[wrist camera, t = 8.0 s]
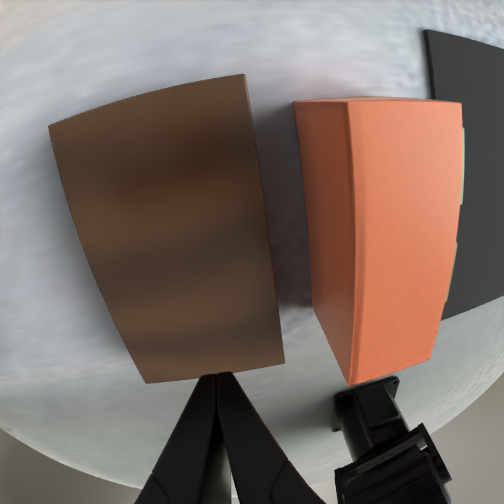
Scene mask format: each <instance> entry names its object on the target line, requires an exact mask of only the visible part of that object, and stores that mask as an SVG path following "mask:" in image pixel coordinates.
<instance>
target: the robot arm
mask: <svg viewBox="0 0 504 504" xmlns="http://www.w3.org/2000/svg"><path fill="white" fill-rule="evenodd" d="M398 385H399V379H398V377H397V376H395V377H392V378H389V379H386V380H383V381H380V382H377V383H374V384H370V385H367V386H364V387H361V388H357V389H354V390H350V391H347V392H343V393H340V394H337V395H335V396H334V398H333V411H332V423H331V429H332V432H337V431H341V430H342V432H343V435H344V438H345V441H346V443H347V446H348V449H349V452H350V454H351V457H352V460H353V463H350V464H348V465H346V466H344V467H342V468H338V469H335V470H334V472H335V485H336V492H337V499H338V504H451V497H450V494H449V492H448V490H447V488H446V486H445V484H446V483H448V482H449V481H451V480H452V478H451V476H450V474H449V472H448V470H447V468H446V466H445V464H444V462H443V460H442V458H441V456H440V455H439V453H438V451H437V449H436V447H435V445H434V443H433V441H432V440H431V437H430V436H429V434H428V432H427V430H426V428H425V426H424V424H423V423H421V424H419V425H418V427H416V428H415V429H413V430H411V431H410V429H409V427H408V425H407V424H406V422H405V420H404V418H403V416H402V414H401V412H400V410H399V408H398V406H397V404H396V402H395V401H394V398H395V395H396V392H397V388H398ZM425 445H427V446H428V447H426V448H425V449H423V450H422V451H421V450H420V448H422V447H423V446H425ZM231 472H232V476H233V480H234V484H235V488H236V491H237V495H238V499H239V502H240V504H326V503H325V502H324V501H323V500H322V499H321V498H320V497H319V496H318V495H317V494H316V493H315V492H314V491H313V490H312V489H311V488H310V487H309V485H308V484H307V483H306V482H305V480H304V479H303V478H302V477H301V475H300V474H299V473H298V472H297V470H296V469H295V467H294V466H293V465H292V463H291V462H290V461H289V460H288V458H287V456H286V455H285V453H284V452H283V450H282V449H281V448H280V446H279V445H278V443H277V442H276V440H275V439H274V437H273V436H272V434H271V433H270V431H269V430H268V428H267V427H266V425H265V424H264V422H263V421H262V419H261V418H260V416H259V414H258V413H257V411H256V410H255V408H254V407H253V405H252V404H251V402H250V400H249V399H248V397H247V396H246V394H245V392H244V391H243V389H242V388H241V386H240V384H239V383H238V381H237V379H236V378H235V376H234V375H233V373H232V372H231V371H225V372H219V373H217V375H216V374H215V373H212V374H205V375H202V376H201V377H200V379H199V381H198V383H197V385H196V387H195V388H194V390H193V392H192V394H191V396H190V398H189V400H188V402H187V404H186V406H185V408H184V410H183V412H182V414H181V416H180V418H179V420H178V422H177V424H176V426H175V428H174V430H173V432H172V434H171V436H170V438H169V439H168V441H167V443H166V445H165V447H164V449H163V451H162V453H161V455H160V457H159V459H158V461H157V463H156V465H155V467H154V469H153V471H152V474H150V476H149V478H148V480H147V482H146V484H145V486H144V487H143V489H142V491H141V493H140V495H139V496H138V498H137V500H136V502H135V503H134V504H231Z"/></svg>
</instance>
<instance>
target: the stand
mask: <svg viewBox="0 0 504 504" xmlns="http://www.w3.org/2000/svg"><path fill="white" fill-rule="evenodd" d="M48 128H49V133H50V138H51V142H52V146H53V151H54V155H55V159H56V163H57V167H58V171H59V174H60V178H61V182H62V185H63V189H64V192H65V195H66V199H67V202H68V205H69V209H70V212H71V215H72V218H73V221H74V224H75V227H76V230H77V233H78V236H79V238H80V241H81V244H82V247H83V249H84V252H85V255H86V257H87V260H88V263H89V265H90V268H91V270H92V273H93V275H94V278H95V280H96V283H97V285H98V287H99V290H100V292H101V294H102V297H103V299H104V301H105V304H106V306H107V308H108V310H109V312H110V315H111V317H112V319H113V321H114V323H115V325H116V327H117V330H118V332H119V334H120V336H121V338H122V340H123V342H124V344H125V346H126V348H127V350H128V352H129V354H130V355H131V357H132V359H133V361H134V363H135V365H136V367H137V369H138V370H139V372H140V374H141V376H142V378H143V380H144V381H145V383H146V384H150V383H160V382H170V381H179V380H187V379H195V378H200V377H201V376H202V375H205V374H212V373H215V374H216V375H217V373H219V372H225V371H231V372H232V373H235V372H241V371H247V370H253V369H258V368H264V367H269V366H274V365H279V364H284V363H285V358H284V350H283V341H282V333H281V325H280V317H279V309H278V301H277V293H276V285H275V277H274V270H273V262H272V254H271V247H270V240H269V232H268V225H267V218H266V210H265V203H264V196H263V189H262V182H261V175H260V168H259V161H258V154H257V148H256V141H255V134H254V128H253V121H252V115H251V108H250V102H249V95H248V89H247V82H246V76H245V74H238V75H231V76H225V77H218V78H213V79H207V80H202V81H196V82H191V83H186V84H182V85H177V86H173V87H168V88H164V89H160V90H156V91H152V92H148V93H144V94H140V95H137V96H133V97H130V98H126V99H123V100H119V101H116V102H113V103H110V104H106V105H103V106H100V107H97V108H94V109H91V110H88V111H86V112H83V113H80V114H77V115H74V116H72V117H69V118H66V119H64V120H61V121H59V122H56V123H54V124H51V125H49V126H48Z"/></svg>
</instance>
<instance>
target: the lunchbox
mask: <svg viewBox="0 0 504 504" xmlns="http://www.w3.org/2000/svg"><path fill="white" fill-rule="evenodd" d="M293 104H294V111H295V119H296V126H297V134H298V142H299V150H300V159H301V168H302V177H303V186H304V196H305V206H306V217H307V228H308V240H309V253H310V267H311V282H312V299H313V309H314V312H315V314H316V316H317V318H318V320H319V322H320V325H321V327H322V329H323V331H324V333H325V336H326V338H327V340H328V342H329V344H330V347H331V349H332V351H333V353H334V355H335V358H336V360H337V362H338V364H339V367H340V369H341V371H342V373H343V376H344V378H345V380H346V382H347V385H348V386H352V385H356V384H359V383H362V382H365V381H369V380H372V379H375V378H378V377H381V376H384V375H387V374H390V373H393V372H396V371H399V370H402V369H404V368H407V367H410V366H413V365H415V364H418V363H420V362H423V361H426V360H428V359H430V356H431V353H432V350H433V346H434V343H435V339H436V336H437V332H438V328H439V324H440V320H441V316H442V312H443V308H444V304H445V299H446V295H447V290H448V285H449V280H450V274H451V269H452V263H453V257H454V251H455V244H456V236H457V228H458V220H459V210H460V198H461V183H462V152H463V137H462V107H461V103H460V102H451V101H442V100H431V99H419V98H402V97H347V98H329V99H315V100H303V101H294V102H293Z"/></svg>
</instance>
